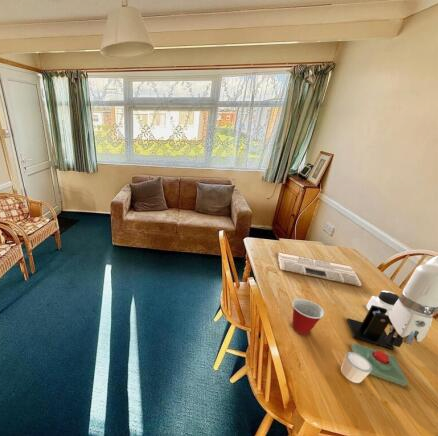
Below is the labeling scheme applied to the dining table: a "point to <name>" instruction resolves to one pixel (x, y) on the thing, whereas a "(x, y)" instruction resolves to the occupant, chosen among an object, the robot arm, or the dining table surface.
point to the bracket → (372, 328)
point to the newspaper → (318, 269)
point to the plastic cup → (305, 315)
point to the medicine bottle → (383, 301)
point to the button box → (382, 365)
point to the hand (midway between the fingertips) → (392, 343)
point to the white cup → (355, 367)
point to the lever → (381, 313)
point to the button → (381, 357)
